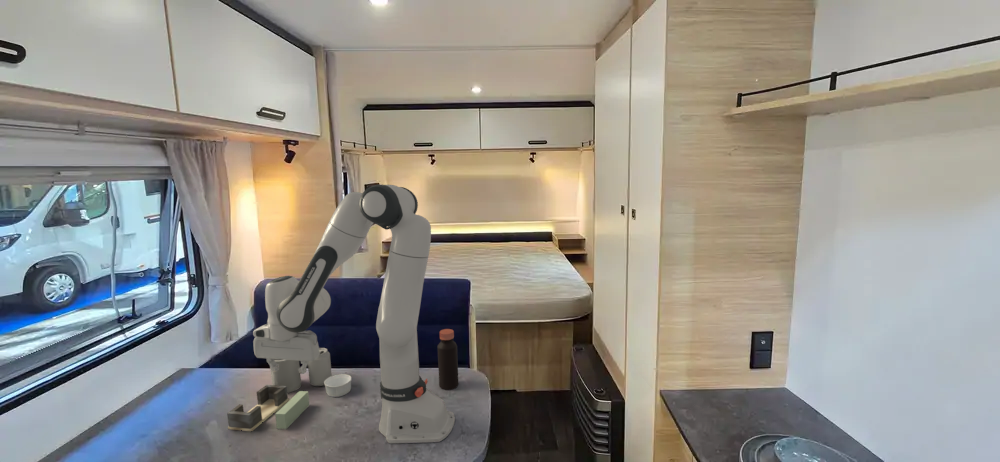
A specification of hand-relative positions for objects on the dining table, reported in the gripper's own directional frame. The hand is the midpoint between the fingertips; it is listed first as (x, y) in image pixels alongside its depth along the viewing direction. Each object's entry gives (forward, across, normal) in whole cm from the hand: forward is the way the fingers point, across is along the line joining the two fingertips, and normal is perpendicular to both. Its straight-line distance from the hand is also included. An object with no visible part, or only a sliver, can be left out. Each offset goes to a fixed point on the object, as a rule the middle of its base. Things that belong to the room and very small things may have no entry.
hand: (288, 371), depth 133 cm
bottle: (+15, -43, -25) cm, 52 cm away
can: (+15, +4, -21) cm, 26 cm away
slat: (+15, 0, 0) cm, 15 cm away
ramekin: (+15, -6, -16) cm, 23 cm away
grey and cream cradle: (+15, +11, 0) cm, 19 cm away
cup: (+15, +14, -16) cm, 26 cm away
